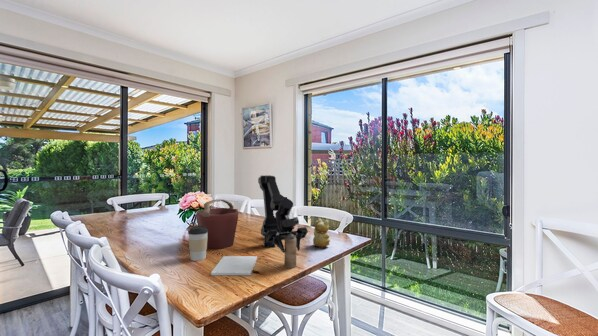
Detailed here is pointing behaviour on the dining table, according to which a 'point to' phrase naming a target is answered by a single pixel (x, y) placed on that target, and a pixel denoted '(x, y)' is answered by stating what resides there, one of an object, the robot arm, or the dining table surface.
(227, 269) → the ceramic tile
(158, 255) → the dining table surface
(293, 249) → the pepper mill
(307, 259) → the dining table surface
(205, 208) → the bucket
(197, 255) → the coffee cup
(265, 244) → the robot arm
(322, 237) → the decorative figurine
